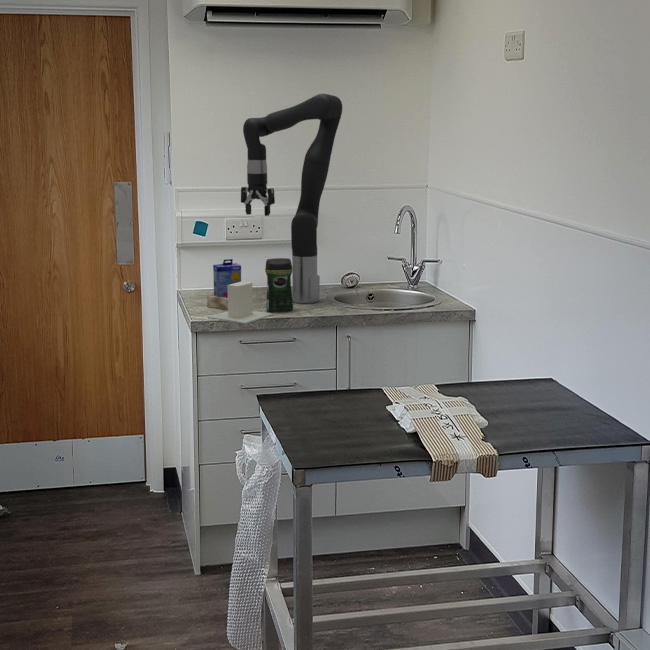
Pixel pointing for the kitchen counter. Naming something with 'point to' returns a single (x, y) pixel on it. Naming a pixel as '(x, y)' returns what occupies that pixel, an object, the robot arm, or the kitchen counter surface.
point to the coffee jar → (279, 285)
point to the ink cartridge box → (225, 277)
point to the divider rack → (217, 302)
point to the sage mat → (243, 320)
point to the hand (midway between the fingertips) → (257, 215)
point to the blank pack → (240, 299)
